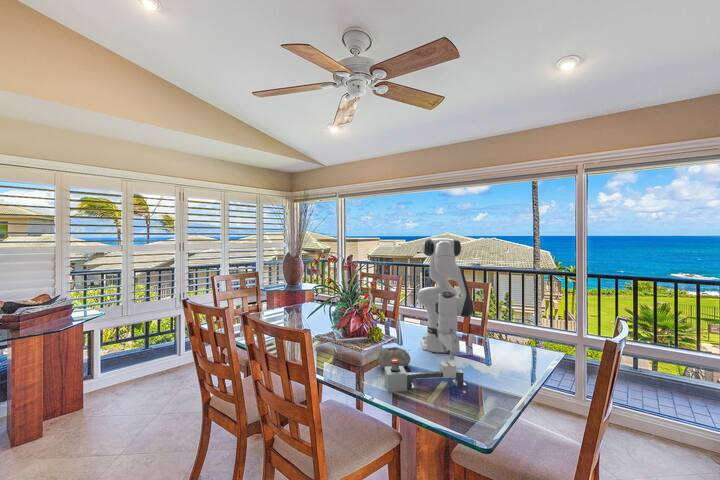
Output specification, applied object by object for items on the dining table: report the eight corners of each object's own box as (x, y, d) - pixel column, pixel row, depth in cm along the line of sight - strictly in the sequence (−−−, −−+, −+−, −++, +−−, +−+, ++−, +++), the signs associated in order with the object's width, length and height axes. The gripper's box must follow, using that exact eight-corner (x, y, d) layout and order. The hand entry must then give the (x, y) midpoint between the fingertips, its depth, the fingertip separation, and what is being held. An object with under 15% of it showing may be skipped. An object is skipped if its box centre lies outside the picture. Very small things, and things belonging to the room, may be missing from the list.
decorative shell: (382, 359, 188) (382, 341, 188) (413, 362, 182) (413, 344, 182) (373, 371, 171) (373, 352, 171) (406, 375, 165) (406, 356, 165)
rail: (401, 383, 157) (401, 371, 157) (461, 380, 159) (461, 368, 159) (404, 389, 151) (404, 376, 151) (466, 386, 153) (466, 373, 153)
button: (390, 372, 155) (390, 358, 155) (398, 372, 156) (398, 358, 155) (391, 376, 151) (391, 362, 151) (400, 376, 151) (400, 361, 151)
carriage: (440, 373, 158) (440, 360, 158) (452, 372, 158) (452, 360, 158) (443, 377, 153) (443, 365, 153) (456, 377, 153) (455, 364, 153)
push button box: (384, 383, 158) (384, 366, 157) (402, 382, 158) (402, 365, 158) (387, 392, 149) (387, 374, 148) (407, 391, 149) (406, 373, 149)
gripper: (463, 332, 145) (463, 363, 145) (446, 321, 165) (447, 348, 165) (449, 333, 144) (449, 364, 144) (434, 321, 165) (435, 348, 165)
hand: (448, 355), depth 155 cm, fingers open, 8 cm apart
